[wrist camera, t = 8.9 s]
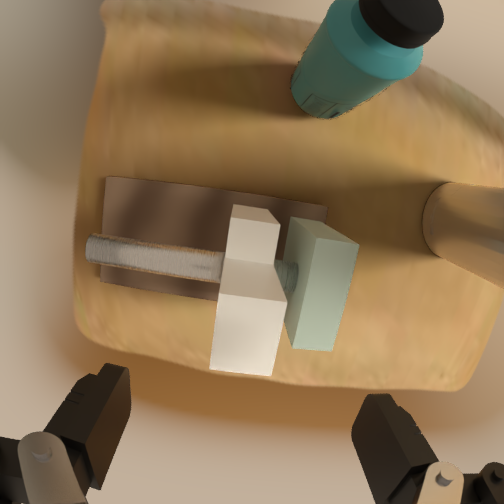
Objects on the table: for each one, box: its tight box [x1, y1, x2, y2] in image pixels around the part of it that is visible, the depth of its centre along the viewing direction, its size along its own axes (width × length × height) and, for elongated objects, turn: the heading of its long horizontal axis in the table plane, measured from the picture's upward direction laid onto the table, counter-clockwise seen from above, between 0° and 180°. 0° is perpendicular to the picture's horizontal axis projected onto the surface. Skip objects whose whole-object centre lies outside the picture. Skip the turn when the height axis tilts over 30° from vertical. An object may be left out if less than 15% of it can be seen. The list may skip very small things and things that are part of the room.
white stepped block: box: [210, 204, 287, 376], centre depth 21 cm, size 3×9×15 cm, turn 171°
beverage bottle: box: [290, 0, 444, 120], centre depth 19 cm, size 6×7×20 cm
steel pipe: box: [85, 233, 299, 293], centre depth 24 cm, size 18×3×3 cm, turn 81°
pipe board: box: [100, 176, 328, 301], centre depth 31 cm, size 22×11×2 cm, turn 81°
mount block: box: [283, 217, 359, 351], centre depth 26 cm, size 3×8×10 cm, turn 171°
